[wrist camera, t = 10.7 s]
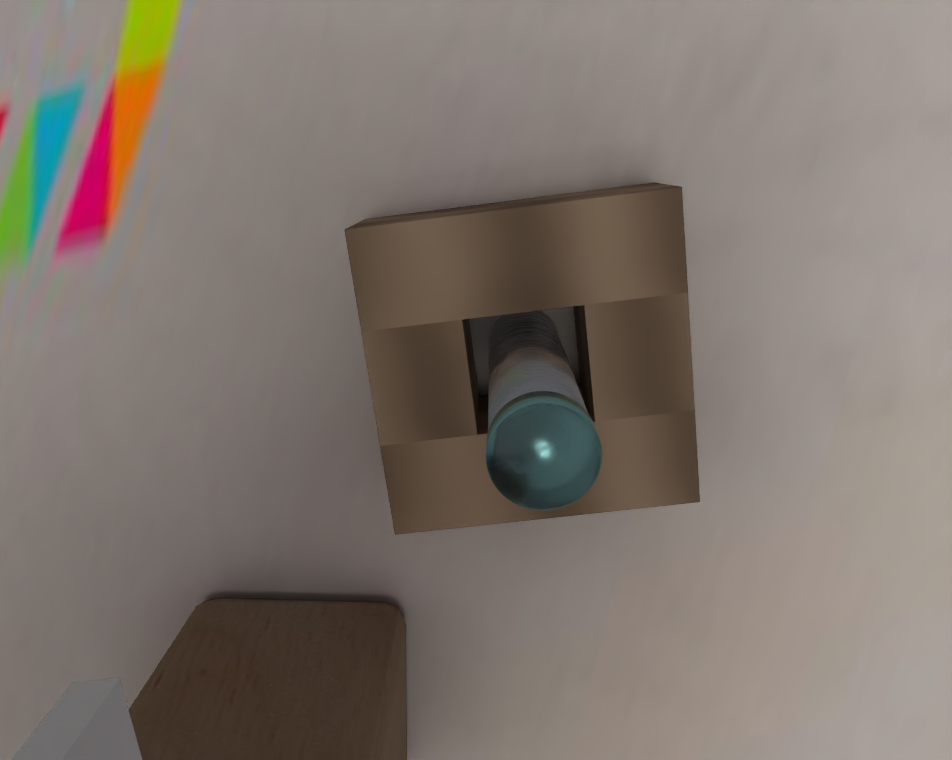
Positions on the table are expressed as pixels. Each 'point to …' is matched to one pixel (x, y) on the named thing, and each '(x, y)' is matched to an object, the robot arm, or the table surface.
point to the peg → (537, 417)
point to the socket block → (515, 291)
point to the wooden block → (279, 684)
